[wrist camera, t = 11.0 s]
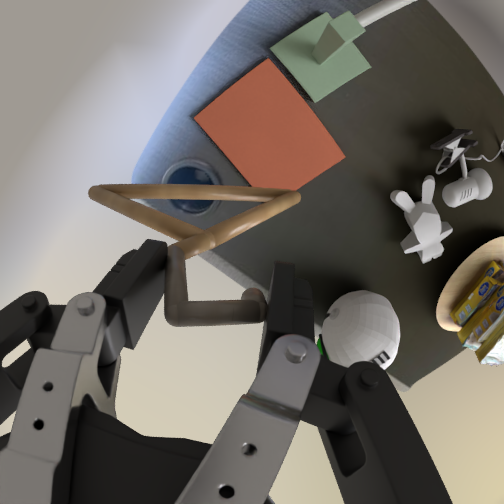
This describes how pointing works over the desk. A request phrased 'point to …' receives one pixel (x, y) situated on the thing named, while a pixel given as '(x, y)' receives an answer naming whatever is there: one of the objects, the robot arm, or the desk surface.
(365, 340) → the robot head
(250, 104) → the mat
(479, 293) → the stacked boxes on plate
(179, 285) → the hanger
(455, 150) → the clip-on lamp
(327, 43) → the hook stand
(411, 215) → the bunny figurine
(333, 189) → the desk surface
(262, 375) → the robot arm
